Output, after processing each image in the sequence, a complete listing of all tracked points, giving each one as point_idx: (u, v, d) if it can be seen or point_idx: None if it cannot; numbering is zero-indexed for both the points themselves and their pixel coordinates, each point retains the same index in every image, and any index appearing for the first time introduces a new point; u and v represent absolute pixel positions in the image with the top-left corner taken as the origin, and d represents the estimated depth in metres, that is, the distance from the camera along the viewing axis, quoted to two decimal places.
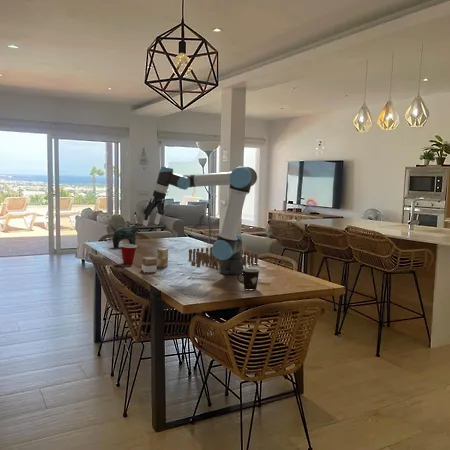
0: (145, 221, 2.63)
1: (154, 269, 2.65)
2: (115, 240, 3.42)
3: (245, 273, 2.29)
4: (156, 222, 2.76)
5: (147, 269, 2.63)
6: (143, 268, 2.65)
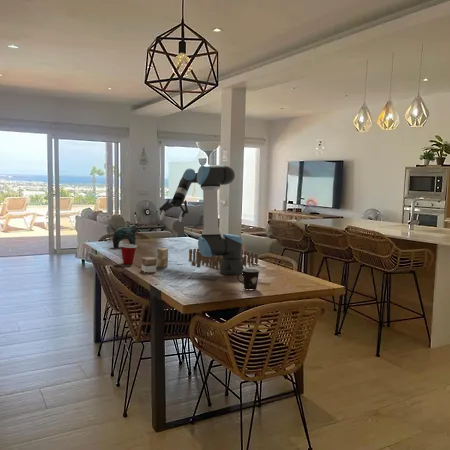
0: None
1: (154, 269, 2.65)
2: (115, 240, 3.42)
3: (245, 273, 2.29)
4: None
5: (146, 270, 2.63)
6: (143, 268, 2.65)
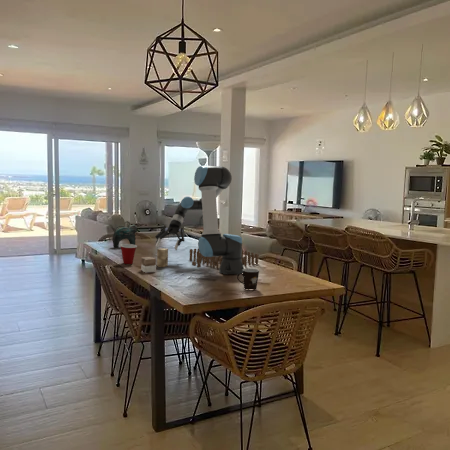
0: None
1: (153, 269, 2.65)
2: (115, 240, 3.42)
3: (245, 273, 2.29)
4: None
5: (146, 269, 2.63)
6: (142, 268, 2.66)
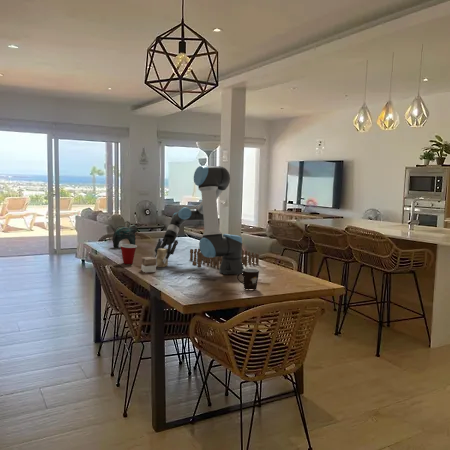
0: None
1: (153, 269, 2.65)
2: (115, 240, 3.42)
3: (245, 273, 2.29)
4: None
5: (146, 269, 2.63)
6: (142, 268, 2.66)
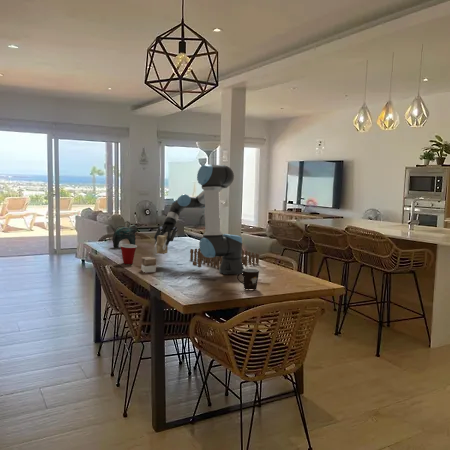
0: None
1: (153, 269, 2.65)
2: (115, 240, 3.42)
3: (245, 273, 2.29)
4: None
5: (146, 269, 2.63)
6: (142, 268, 2.66)
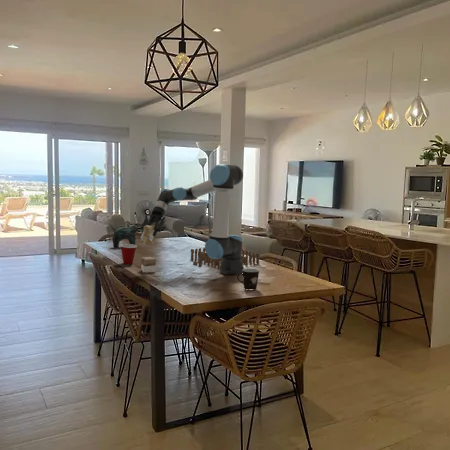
0: None
1: (153, 269, 2.65)
2: (115, 240, 3.42)
3: (245, 273, 2.29)
4: None
5: (145, 269, 2.63)
6: (142, 268, 2.66)
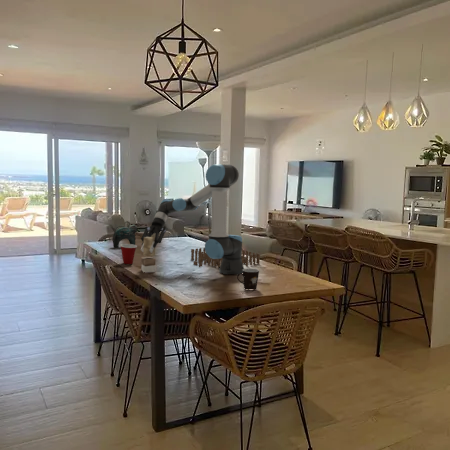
0: None
1: (153, 269, 2.65)
2: (115, 240, 3.42)
3: (245, 273, 2.29)
4: None
5: (145, 269, 2.63)
6: (142, 268, 2.66)
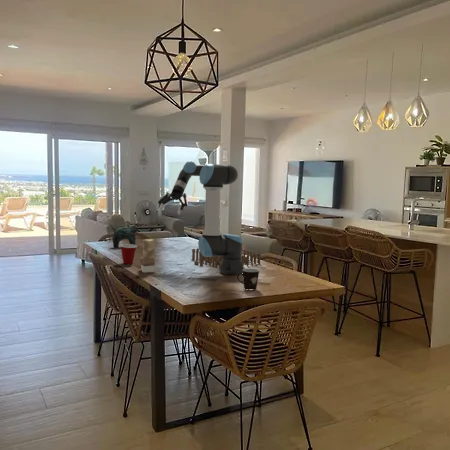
0: None
1: (152, 269, 2.65)
2: (115, 240, 3.42)
3: (245, 273, 2.29)
4: None
5: (145, 269, 2.63)
6: (142, 268, 2.66)
